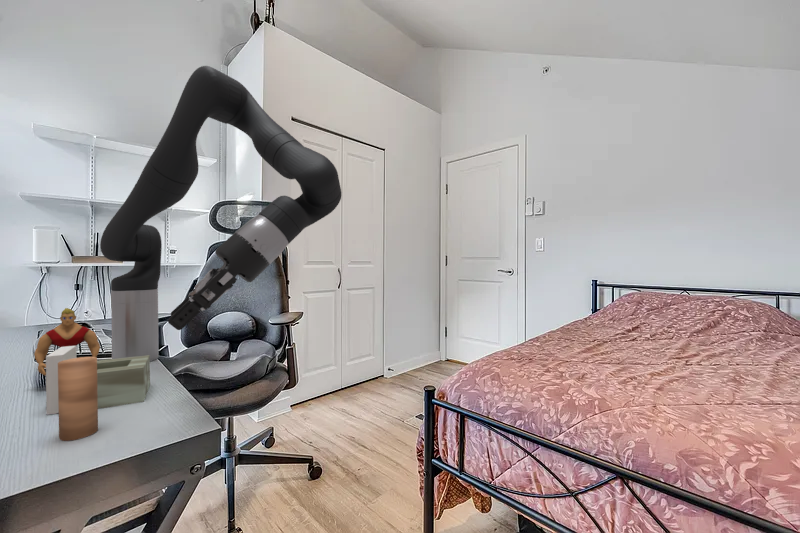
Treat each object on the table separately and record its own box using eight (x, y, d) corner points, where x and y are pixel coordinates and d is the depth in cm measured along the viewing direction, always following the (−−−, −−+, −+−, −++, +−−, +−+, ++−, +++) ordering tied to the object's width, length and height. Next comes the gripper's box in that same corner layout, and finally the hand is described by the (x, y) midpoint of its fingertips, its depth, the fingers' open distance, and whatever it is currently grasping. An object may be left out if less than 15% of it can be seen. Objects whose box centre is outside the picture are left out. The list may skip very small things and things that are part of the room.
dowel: (63, 431, 51) (62, 359, 50) (100, 424, 53) (99, 355, 53) (55, 443, 47) (53, 366, 47) (94, 435, 49) (93, 361, 49)
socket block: (82, 395, 66) (82, 362, 66) (150, 386, 70) (149, 355, 70) (65, 415, 57) (65, 376, 57) (143, 403, 62) (143, 367, 62)
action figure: (32, 393, 66) (31, 310, 66) (35, 388, 69) (34, 308, 69) (100, 382, 72) (99, 306, 72) (100, 378, 75) (99, 305, 75)
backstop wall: (61, 398, 63) (61, 346, 63) (76, 396, 64) (76, 345, 64) (46, 414, 56) (45, 356, 56) (63, 412, 57) (63, 354, 57)
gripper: (231, 234, 66) (156, 302, 60) (241, 227, 54) (148, 310, 48) (262, 264, 69) (193, 331, 63) (279, 263, 56) (195, 346, 51)
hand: (173, 322), depth 56 cm, fingers open, 8 cm apart
